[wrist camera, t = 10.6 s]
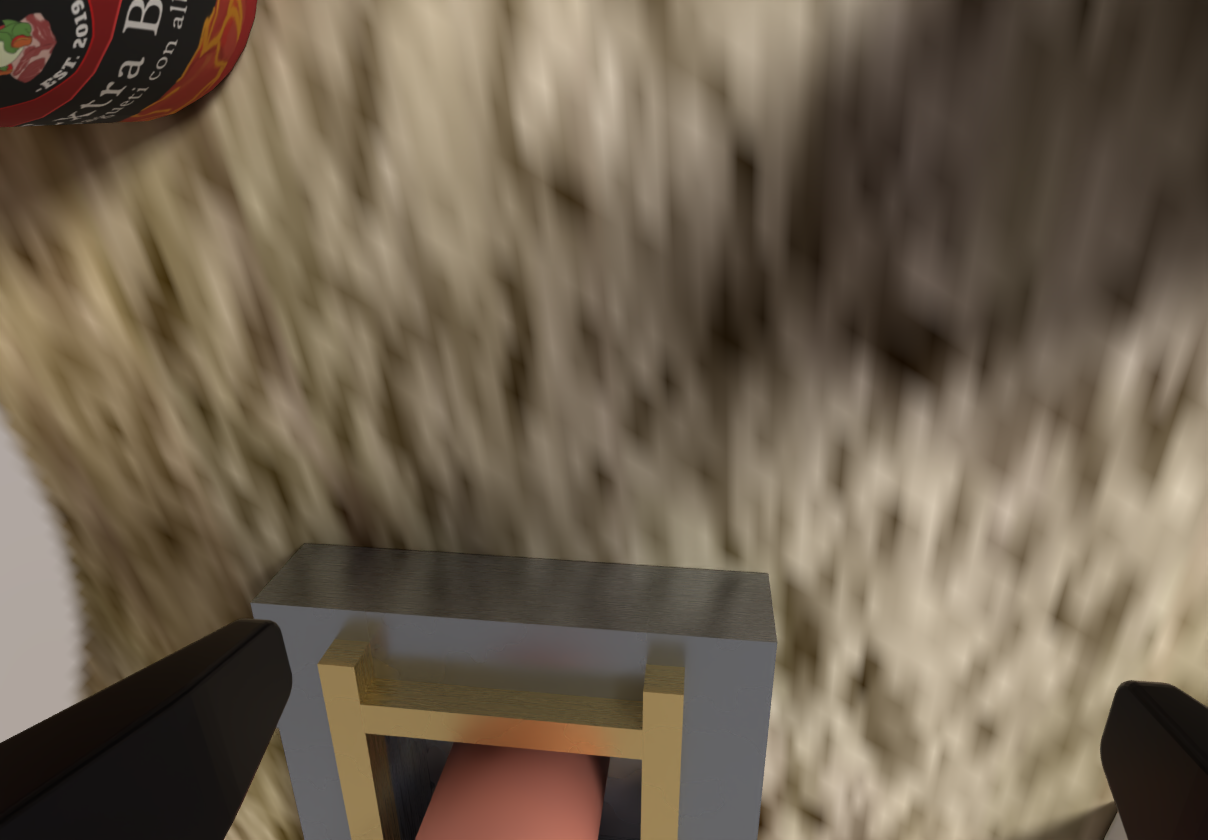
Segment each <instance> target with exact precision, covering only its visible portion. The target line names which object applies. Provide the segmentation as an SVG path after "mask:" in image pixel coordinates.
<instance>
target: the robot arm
mask: <svg viewBox="0 0 1208 840" xmlns="http://www.w3.org/2000/svg"><path fill="white" fill-rule="evenodd" d="M291 689H292V672H291V668H290V664H289V660H288V656H287V652H286V648H285V644H284V640H283V636H282V632H281V629H280V627H279V626H278V625H277V623H276V622H274V621H271V620H263V619H248V618H246V619H239V620H236V621H234V622H232V623H230V624H228V625H227V626H225V627H223V628H221V629H219V630H217V631H215V632H213V633H211V634H209V635H207V636H205V637H203V638H202V639H200V640H198V641H196V642H194V643H192V644H190V645H188V646H186V647H184V648H182V649H180V650H178V651H177V652H175V653H173V654H171V655H169V656H167V657H165V658H163V659H161V660H159V661H157V662H155V663H153V664H152V665H150V666H148V667H146V668H144V669H142V670H140V671H138V672H136V673H134V674H132V675H130V676H128V677H126V678H125V679H123V680H121V681H119V682H117V683H115V684H113V685H111V686H109V687H107V688H105V689H103V690H101V691H100V692H98V693H96V694H94V695H92V696H90V697H88V698H86V699H84V700H82V701H80V702H78V703H76V704H75V705H73V706H71V707H69V708H67V709H65V710H63V711H61V712H59V713H57V714H55V715H53V716H52V717H49V718H48V719H46V720H44V721H42V722H40V723H38V724H36V725H34V726H33V727H31V728H28V729H26V730H25V731H23V732H21V733H19V734H17V735H15V736H13V737H11V738H9V739H7V740H5V741H3V742H1V743H0V840H224V838H225V836H226V834H227V832H228V831H229V829H230V827H231V825H232V823H233V821H234V819H235V817H236V815H237V813H238V811H239V809H240V807H241V804H242V802H243V800H244V798H245V796H246V793H247V791H248V789H249V787H250V785H251V782H252V780H253V778H254V776H255V773H256V771H257V769H258V767H259V764H260V762H261V760H262V758H263V755H264V753H265V751H266V749H267V746H268V744H269V742H270V740H271V737H272V735H273V733H274V731H275V728H276V726H277V724H278V722H279V719H280V717H281V715H282V713H283V710H284V708H285V706H286V704H287V702H288V699H289V696H290V693H291ZM1100 754H1101V761H1102V766H1103V769H1104V772H1105V775H1106V778H1107V781H1108V784H1109V787H1110V790H1111V792H1112V795H1113V798H1114V801H1115V804H1116V807H1117V810H1118V813H1119V816H1120V819H1121V822H1122V824H1123V827H1124V830H1125V833H1126V836H1127V839H1128V840H1208V707H1206V706H1205V705H1203V704H1202V703H1200V702H1199V701H1197V700H1196V699H1194V698H1192V697H1191V696H1189V695H1188V694H1186V693H1185V692H1183V691H1182V690H1180V689H1178V688H1177V687H1175V686H1173V685H1170V684H1167V683H1161V682H1146V681H1132V680H1131V681H1126V682H1123V683H1121V684H1120V686H1119V687H1118V688H1117V690H1116V693H1115V696H1114V699H1113V702H1112V706H1111V709H1110V712H1109V716H1108V719H1107V722H1106V725H1105V729H1104V732H1103V735H1102V739H1101V745H1100Z"/></svg>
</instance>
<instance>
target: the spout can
mask: <svg viewBox="0 0 1208 840" xmlns="http://www.w3.org/2000/svg"><path fill="white" fill-rule="evenodd" d="M609 762H610V757H608V756H598V755H587V754H577V753H566V752H556V751H545V750H535V749H525V748H514V747H504V746H493V745H483V744H472V743H462V742H454V743H453V745H452V748H451V750H450V753H449V756H448V758H447V761H446V763H445V766H444V768H443V771H442V773H441V776H440V778H439V781H438V783H437V786H436V788H435V791H434V793H433V796H432V798H431V801H430V803H429V806H428V808H427V811H426V813H425V816H424V818H423V821H422V823H421V826H420V828H419V831H418V833H417V836H416V838H415V840H598V835H599V828H600V822H601V815H602V808H603V802H604V795H605V788H606V782H607V775H608V768H609Z"/></svg>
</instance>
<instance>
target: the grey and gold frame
mask: <svg viewBox="0 0 1208 840" xmlns="http://www.w3.org/2000/svg"><path fill="white" fill-rule="evenodd" d="M250 604H251V608H252V612H253V617H254V619H263V620H271V621H274V622H276V623H277V625H278V626H279V627H280V629H281V632H282V636H283V640H284V644H285V648H286V652H287V656H288V660H289V664H290V668H291V672H292V689H291V693H290V696H289V699H288V702H287V704H286V706H285V708H284V710H283V713H282V715H281V717H280V719H279V722H278V724H277V726H276V728H279V730H280V735H281V739H282V743H283V748H284V752H285V757H286V761H287V765H288V770H289V774H290V778H291V783H292V787H293V791H294V796H295V800H296V805H297V809H298V813H299V818H300V822H301V826H302V831H303V835H304V840H415V838H416V836H417V833H418V831H419V828H420V826H421V823H422V821H423V818H424V816H425V813H426V811H427V808H428V806H429V803H430V801H431V798H432V796H433V793H434V791H435V788H436V786H437V783H438V781H439V778H440V776H441V773H442V771H443V768H444V766H445V763H446V761H447V758H448V756H449V753H450V750H451V748H452V745H453V743H454V742H462V743H472V744H483V745H493V746H504V747H514V748H525V749H535V750H545V751H556V752H566V753H577V754H587V755H598V756H608V757H610V762H609V768H608V775H607V782H606V788H605V795H604V802H603V808H602V815H601V822H600V828H599V835H598V840H757V835H758V825H759V815H760V806H761V796H762V786H763V776H764V766H765V757H766V747H767V737H768V727H769V718H770V708H771V698H772V688H773V678H774V669H775V659H776V649H777V638H776V630H775V622H774V615H773V607H772V599H771V591H770V584H769V576H768V574H765V573H750V572H734V571H719V570H704V569H688V568H673V567H658V566H642V565H627V564H612V563H596V562H581V561H566V560H550V559H535V558H520V557H504V556H489V555H474V554H458V553H443V552H428V551H412V550H397V549H382V548H366V547H351V546H336V545H320V544H305V543H304V544H303V546H302V547H301V548H300V549H299V550H298V551H297V552H296V553H295V554H294V555H293V557H292V558H291V559H290V560H289V561H288V562H287V563H286V564H285V565H284V566H283V568H282V569H281V570H280V571H279V572H278V573H277V574H276V575H275V576H274V577H273V578H272V580H271V581H270V582H269V583H268V584H267V585H266V586H265V587H264V588H263V589H262V591H261V592H260V593H259V594H258V595H257V596H256V597H255V598H254V599H253V600H252V602H251V603H250Z"/></svg>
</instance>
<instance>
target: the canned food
mask: <svg viewBox="0 0 1208 840" xmlns="http://www.w3.org/2000/svg"><path fill="white" fill-rule="evenodd" d="M256 4H257V0H0V127H18V126H42V125H65V124H89V123H113V122H136V121H149V120H153V119H156V118H160V117H164V116H167V115H171V114H174V113H176V112H178V111H179V110H181V109H183V108H184V107H186V106H188V105H189V104H191V103H193V102H195V101H196V100H198V99H199V98H201V97H202V96H204V95H206V94H207V93H209V92H210V91H212V90H213V89H214V88H215V87H216V86H217V85H218V84H219V83H220V82H221V81H222V80H223V79H224V77H225V76H226V75H227V74H228V73H229V72H230V71H231V70H232V68H233V66H234V65H235V63H236V61H237V60H238V58H239V56H240V54H241V53H242V51H243V49H244V48H245V46H246V43H247V39H248V36H249V33H250V30H251V27H252V24H253V21H254V18H255V12H256Z"/></svg>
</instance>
